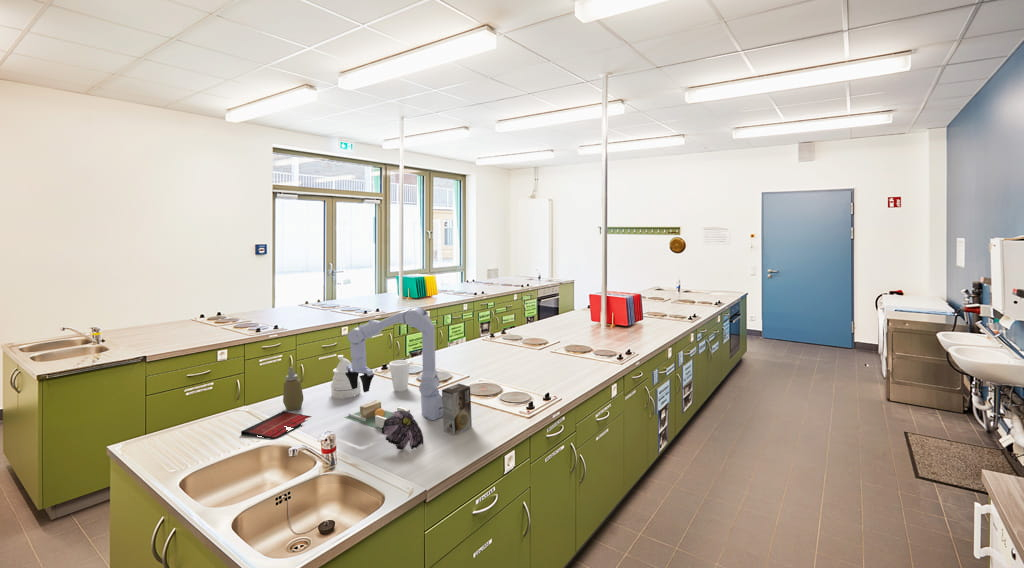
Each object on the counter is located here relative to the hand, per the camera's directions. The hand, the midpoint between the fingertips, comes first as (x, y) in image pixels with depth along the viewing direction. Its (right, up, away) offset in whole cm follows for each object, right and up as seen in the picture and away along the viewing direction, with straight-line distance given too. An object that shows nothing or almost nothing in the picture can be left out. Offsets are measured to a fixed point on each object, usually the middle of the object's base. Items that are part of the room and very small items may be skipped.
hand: (360, 390), depth 195 cm
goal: (+16, -11, -10) cm, 22 cm away
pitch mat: (+9, -11, -5) cm, 15 cm away
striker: (+5, -10, -2) cm, 11 cm away
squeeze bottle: (-32, -10, +10) cm, 35 cm away
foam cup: (+9, -7, +33) cm, 35 cm away
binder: (-29, -13, -9) cm, 33 cm away
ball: (+10, -8, -6) cm, 14 cm away
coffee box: (+41, -12, -16) cm, 46 cm away
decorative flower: (+24, -13, -27) cm, 38 cm away
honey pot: (-15, -8, +28) cm, 33 cm away
